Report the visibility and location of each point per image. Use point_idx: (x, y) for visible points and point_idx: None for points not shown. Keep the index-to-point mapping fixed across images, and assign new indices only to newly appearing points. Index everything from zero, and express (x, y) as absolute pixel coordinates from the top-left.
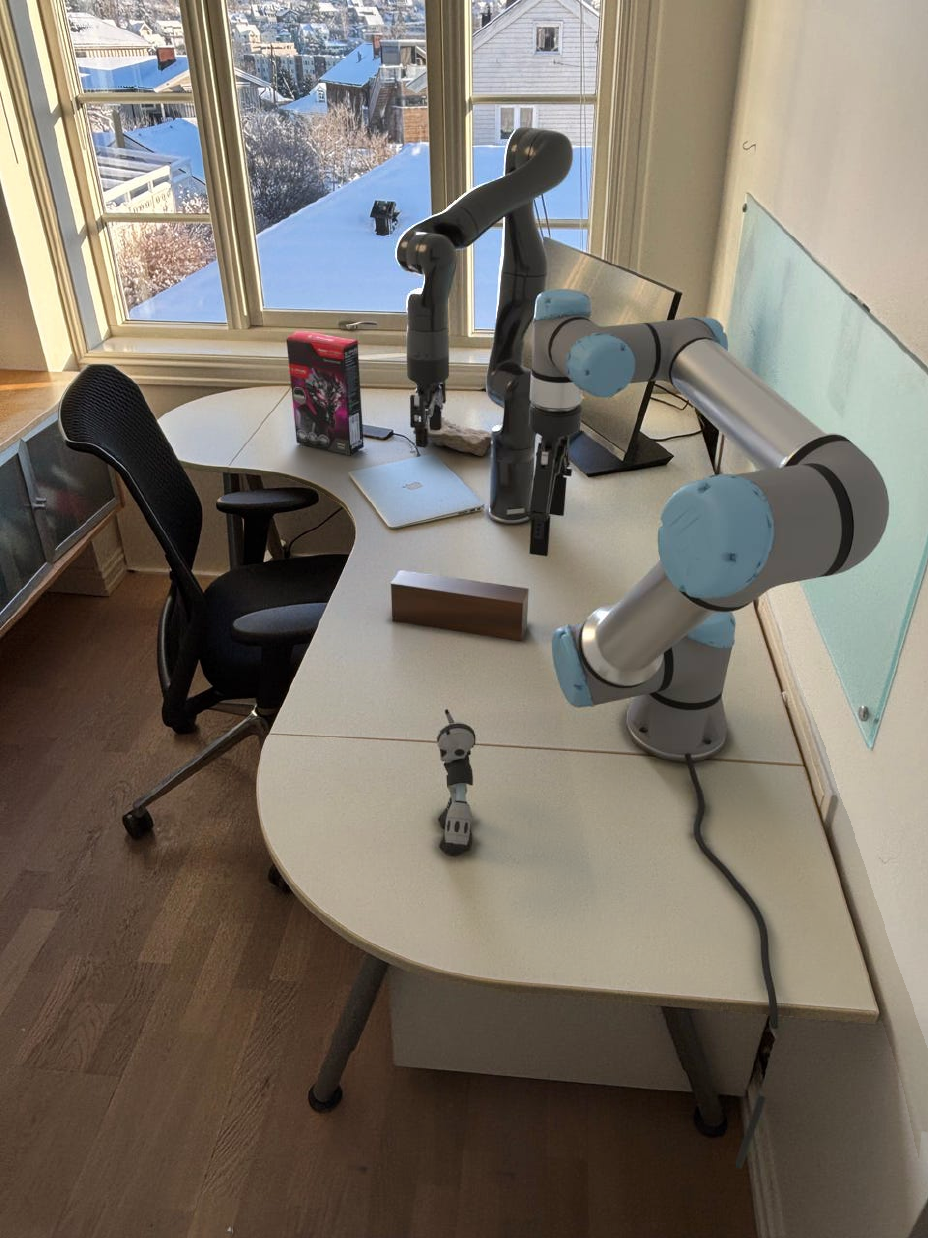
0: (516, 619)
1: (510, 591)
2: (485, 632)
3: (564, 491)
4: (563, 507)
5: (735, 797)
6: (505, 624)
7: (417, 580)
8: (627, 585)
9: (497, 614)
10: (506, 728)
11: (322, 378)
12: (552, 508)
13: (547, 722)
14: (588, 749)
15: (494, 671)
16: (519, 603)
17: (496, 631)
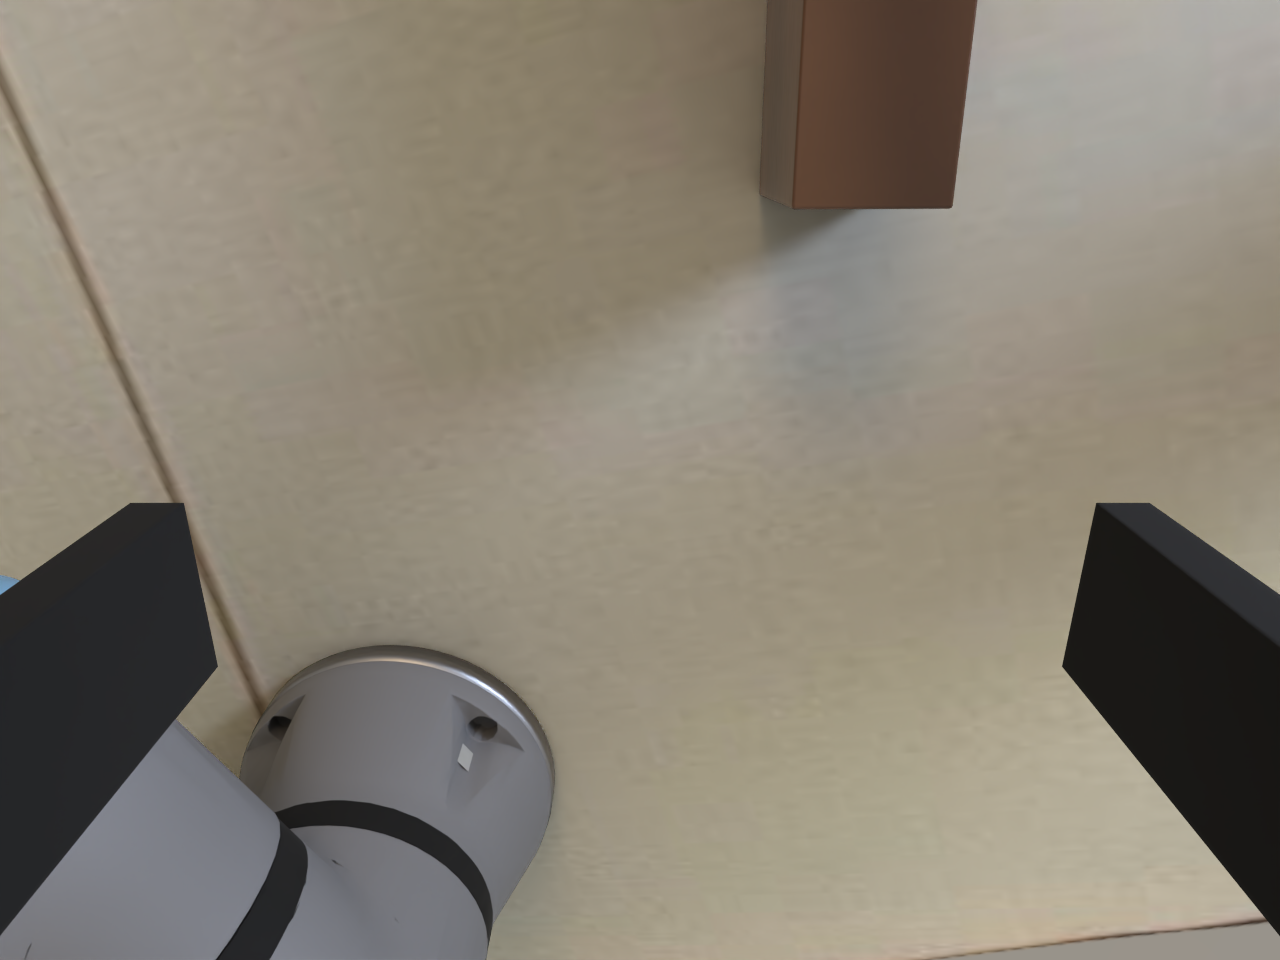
0: (777, 171)
1: (902, 106)
2: (770, 7)
3: (1251, 897)
4: (1114, 728)
5: None
6: (774, 112)
7: None
8: (1261, 554)
9: (785, 60)
10: (180, 268)
11: None
12: (1122, 597)
13: (279, 406)
14: (206, 555)
15: (509, 128)
16: (792, 188)
17: (768, 67)
